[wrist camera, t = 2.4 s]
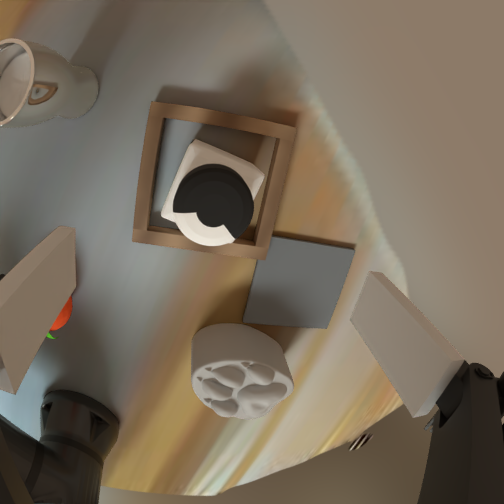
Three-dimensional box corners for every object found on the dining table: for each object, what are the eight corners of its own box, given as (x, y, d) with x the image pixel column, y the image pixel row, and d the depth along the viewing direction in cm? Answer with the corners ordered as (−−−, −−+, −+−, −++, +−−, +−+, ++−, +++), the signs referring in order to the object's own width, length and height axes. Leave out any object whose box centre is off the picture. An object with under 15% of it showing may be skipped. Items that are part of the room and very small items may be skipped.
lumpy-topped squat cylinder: (247, 390, 47) (255, 433, 39) (175, 356, 42) (172, 402, 34) (291, 348, 45) (308, 390, 37) (218, 306, 40) (222, 351, 32)
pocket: (135, 235, 35) (132, 241, 33) (154, 102, 29) (151, 101, 28) (262, 254, 38) (265, 260, 36) (292, 127, 32) (297, 128, 31)
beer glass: (98, 123, 29) (29, 129, 15) (45, 123, 28) (-38, 134, 14) (107, 61, 27) (45, 28, 13) (52, 64, 25) (-26, 44, 12)
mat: (242, 319, 41) (243, 322, 41) (263, 233, 37) (264, 235, 36) (325, 326, 44) (326, 328, 43) (353, 248, 39) (355, 250, 39)
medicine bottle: (193, 137, 32) (187, 145, 21) (254, 164, 34) (279, 186, 23) (167, 198, 34) (150, 236, 23) (226, 222, 36) (238, 269, 25)
